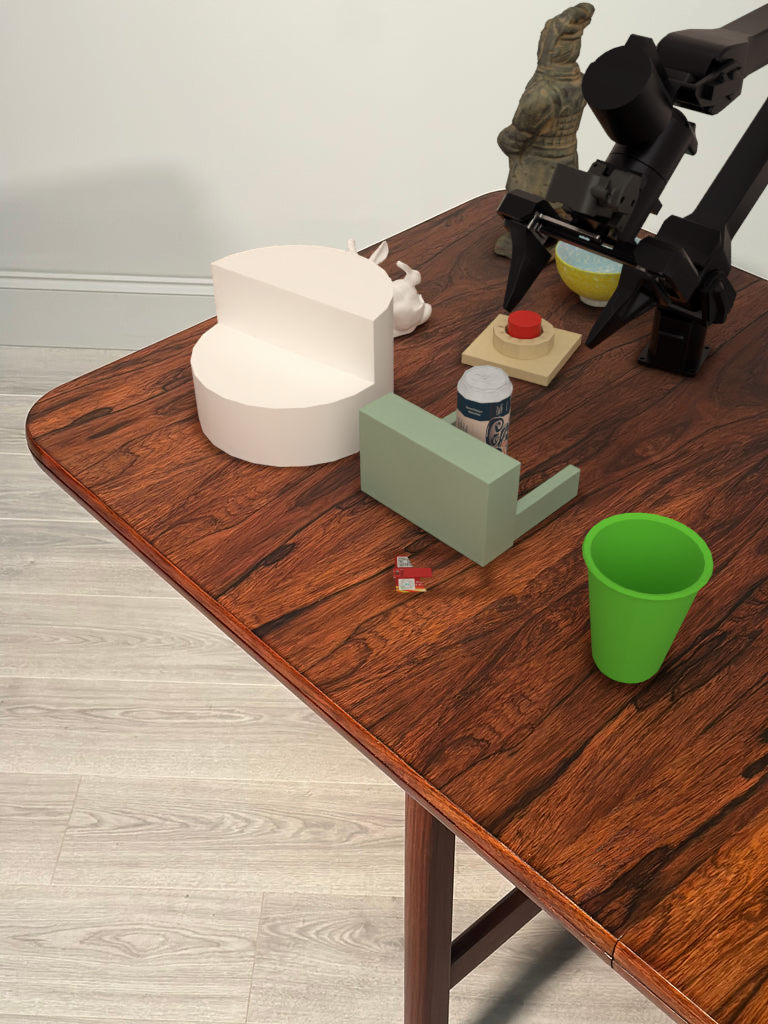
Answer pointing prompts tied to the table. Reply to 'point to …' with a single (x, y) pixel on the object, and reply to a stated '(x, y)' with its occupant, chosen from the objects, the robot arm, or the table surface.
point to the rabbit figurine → (402, 294)
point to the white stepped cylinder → (293, 353)
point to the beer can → (485, 405)
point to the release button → (524, 324)
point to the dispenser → (451, 479)
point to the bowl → (588, 273)
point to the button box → (523, 351)
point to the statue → (547, 113)
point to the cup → (640, 590)
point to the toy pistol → (409, 575)
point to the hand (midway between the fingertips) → (545, 328)
